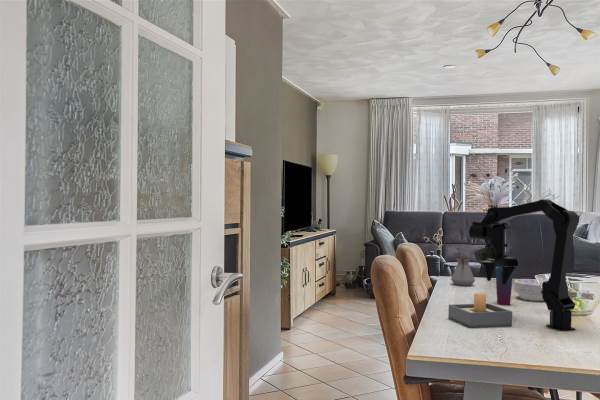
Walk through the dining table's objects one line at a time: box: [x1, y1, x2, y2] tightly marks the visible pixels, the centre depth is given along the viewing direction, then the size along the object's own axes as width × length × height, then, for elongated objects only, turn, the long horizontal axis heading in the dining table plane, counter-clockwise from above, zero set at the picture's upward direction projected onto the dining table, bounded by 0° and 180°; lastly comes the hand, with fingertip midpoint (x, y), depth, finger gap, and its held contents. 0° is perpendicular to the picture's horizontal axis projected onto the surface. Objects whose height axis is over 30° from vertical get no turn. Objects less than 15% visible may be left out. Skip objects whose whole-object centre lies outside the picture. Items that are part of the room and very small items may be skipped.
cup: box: [495, 266, 514, 306], centre depth 218 cm, size 7×7×15 cm
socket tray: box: [447, 302, 513, 329], centre depth 184 cm, size 14×16×5 cm
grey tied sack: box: [450, 257, 475, 287], centre depth 262 cm, size 21×12×15 cm, turn 161°
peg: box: [473, 292, 487, 312], centre depth 184 cm, size 4×4×9 cm
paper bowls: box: [513, 278, 545, 302], centre depth 231 cm, size 15×15×8 cm
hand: (496, 282), depth 197 cm, fingers open, 9 cm apart
